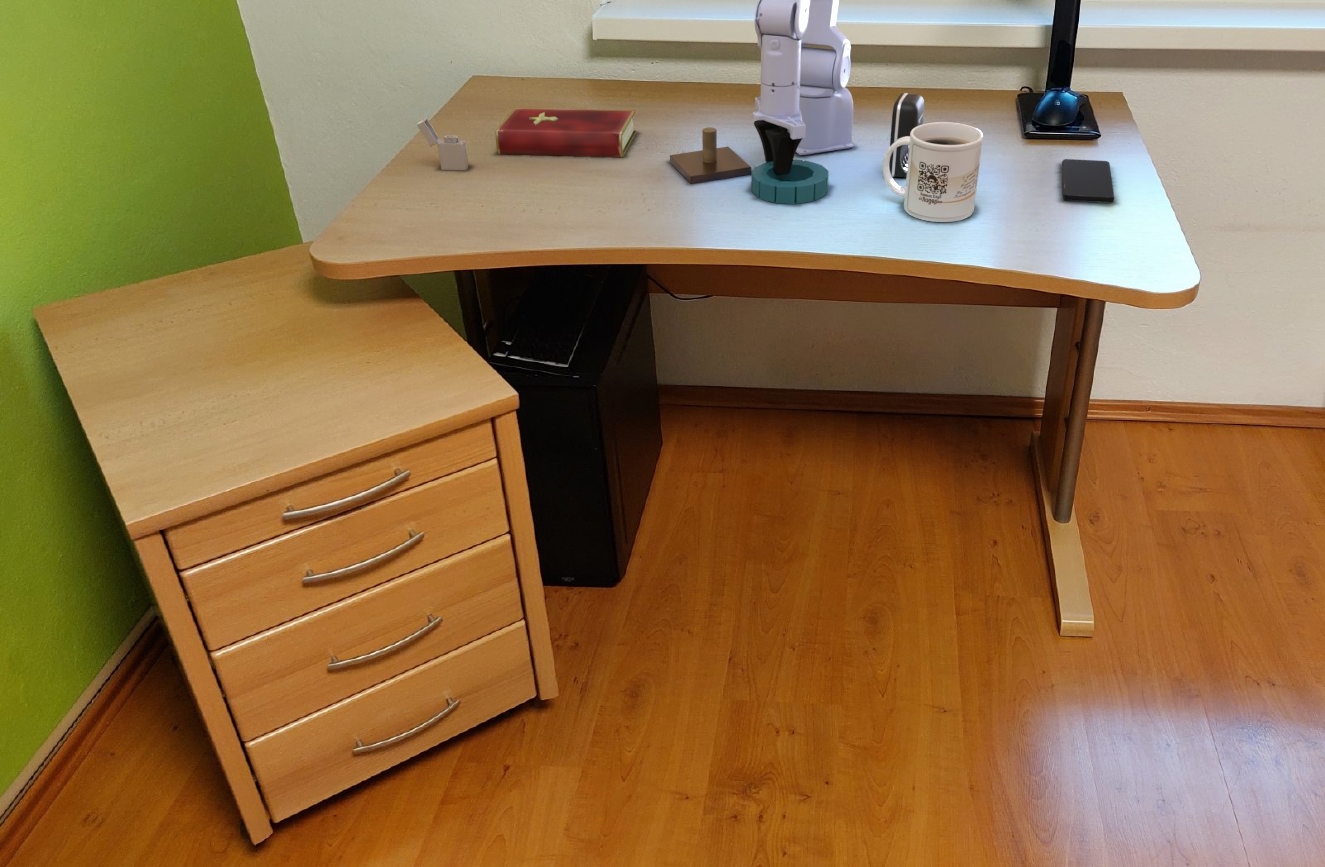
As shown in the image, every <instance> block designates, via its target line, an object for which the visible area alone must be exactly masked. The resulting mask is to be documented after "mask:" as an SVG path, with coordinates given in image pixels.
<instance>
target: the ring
mask: <svg viewBox="0 0 1325 867" xmlns="http://www.w3.org/2000/svg"><path fill="white" fill-rule="evenodd" d="M829 173H830V172H829V170H828V169H827V168H826V167H825V166H824V165H822V164H820V163H818V162H817V163H816V162H813V161H810V160H804V159H793V162H792V166H791V169H790V173H789V174H785V175H778V176H777V175H776V174H775V171H774V165H773V161H770V162H767V163H766V161H765V162H763V163H761V164H759V165H757V166H755V167H754V168H753V170H752V171H751V179H750V180H751V182H750V183H751V186H750V188H751V193H752V194H753V195H755V196H756V198H758V199H759V200H763V201H766V202H770V203H774V204H775V203H776V204H784V205H785V204H786V205H795V204H796V205H798V204H799V205H801V204H804V203H812V202H814V201H818V200H819V199H821V198H823V197H825V196H826V195H827V193H828V189H829Z"/></svg>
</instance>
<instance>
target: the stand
mask: <svg viewBox="0 0 1325 867" xmlns="http://www.w3.org/2000/svg"><path fill="white" fill-rule="evenodd" d="M717 131H718V130H717V128H715V127H704V128H702V130H701V133H702V134H701V137H702V138H701V139H702V141H701V142H702V150H695V151H694V150H693V151H688V152H682V153H675V154H670V155H669V163H670V164H671V165H672V166H673V167H674V169H676V170H677V172H678V173H680V175H681V176H682V177H683V178H684V179H685V180H686V181H687V182H688V183H689V184H690V185H693V184H697V183H703V182H710V181H717V180H723V179H729V178H735V177H741V176H742V177H743V176H748V175H752V166H751V165H749V163H747V162H746V161H745V160H744V159H743V158H742V157H740V155H738V153H736V152H735V150H733V149H732V148H731V147H730V146H722V147H718V144H717V143H718V141H717V140H718V138H717V134H718V133H717Z"/></svg>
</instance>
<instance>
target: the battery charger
mask: <svg viewBox="0 0 1325 867" xmlns="http://www.w3.org/2000/svg"><path fill="white" fill-rule="evenodd" d="M924 115H925V100H924V98H923V96H922V95H920V94H917V93H916V94H915V93H909V92H904V93H900V94H899V96H898V97H897V98H896V100H895V102H894V104H893V107H892V115H891V127H890V138H889V139H890V140H889V147H890V146H891V145H892V144H893V143H894V142H895V141H896V140H898V139H899V138H902V137H906V136H910V132H911V131H912V129H913V128H915V127H917V126H919V125H923V124H924ZM908 154H909V145H901V146H899V147H897V148H896V149H894V151H893V152H892V154H891V157H890V162H889V169H890V174H891V176H892V178H895V177H896V178H906V176H907V165H908Z"/></svg>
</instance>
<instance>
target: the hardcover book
mask: <svg viewBox="0 0 1325 867" xmlns="http://www.w3.org/2000/svg"><path fill="white" fill-rule="evenodd" d="M635 113H636V110H635V109H596V108H595V109H592V108H590V109H589V108H588V109H587V108H543V107H542V108H540V107H539V108H536V107H535V108H534V107H514V108H513V109H512V110H511V111H510V112H509V114H508V115H507V117H505V118H504V120H503V121H502V122H501V123H500V124H499V126H498V127H497V128H496V129H495V131H494V132H495V135H494V136H495V146H496V150H497V155H517V156H518V155H520V156H521V155H522V156H525V155H526V156H561V157H563V156H564V157H565V156H566V157H596V158H597V157H599V158H601V157H603V158H606V157H607V158H624V156H625V154H626V153H627V151H628V149H629V147H630V146H631V144H632V141H633V140H634V138H635V136H636V134H637V130H634V121H633V118H634V116H635Z"/></svg>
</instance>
